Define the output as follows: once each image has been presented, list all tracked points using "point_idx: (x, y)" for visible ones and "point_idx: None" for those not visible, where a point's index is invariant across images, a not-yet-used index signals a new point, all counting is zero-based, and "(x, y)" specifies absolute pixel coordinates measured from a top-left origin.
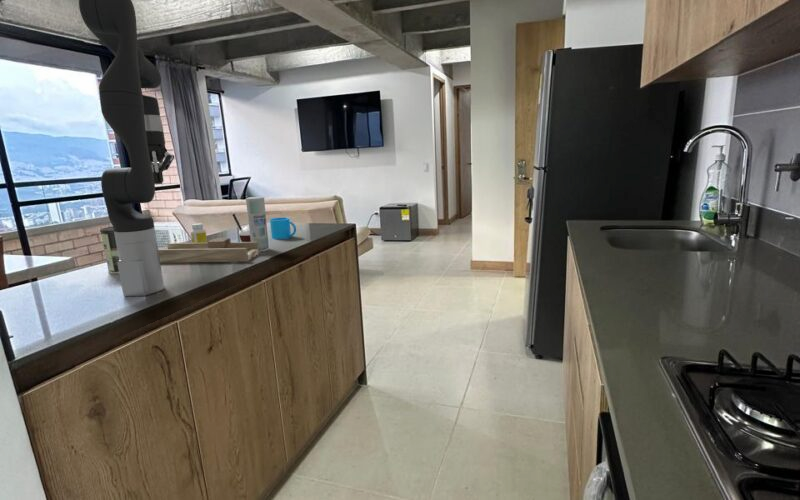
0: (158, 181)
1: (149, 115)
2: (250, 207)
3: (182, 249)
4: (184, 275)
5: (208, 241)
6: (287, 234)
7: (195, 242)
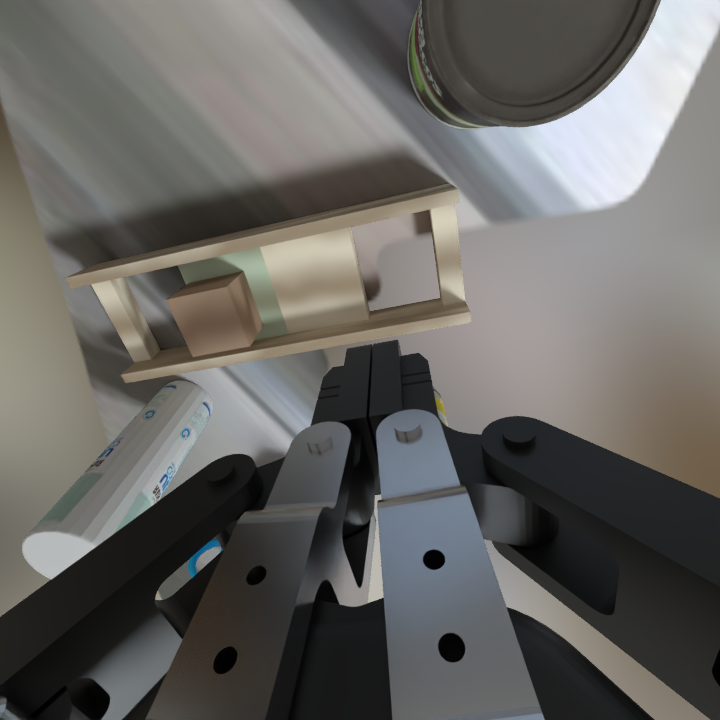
0: (346, 358)
1: None
2: (82, 495)
3: (311, 226)
4: (142, 19)
5: (225, 290)
6: None
7: None
